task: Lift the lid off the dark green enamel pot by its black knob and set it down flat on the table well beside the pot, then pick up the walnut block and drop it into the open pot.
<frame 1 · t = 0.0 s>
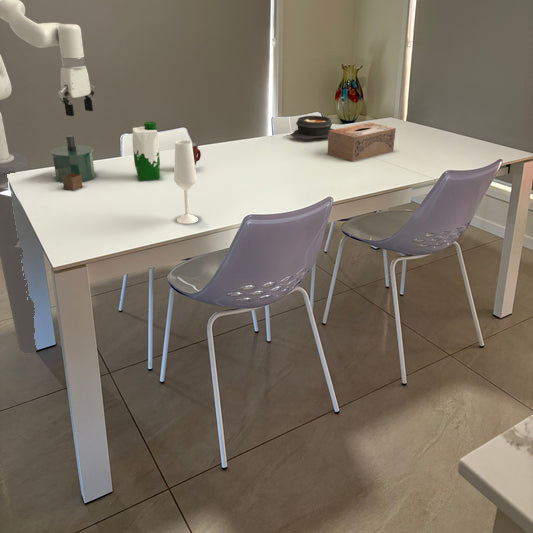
hand: (79, 113, 210), 23 cm above the table, tool pointing down, fingers open, 9 cm apart
milk carton: (148, 178, 218), on the table
mug: (190, 169, 228), on the table
pot: (75, 176, 218), on the table
block: (73, 187, 206), on the table
champagne flute: (187, 220, 181), on the table
tissue box cover: (360, 153, 252), on the table
lid: (72, 151, 213), point 9 cm above the table, touching pot
casserole: (313, 137, 277), on the table
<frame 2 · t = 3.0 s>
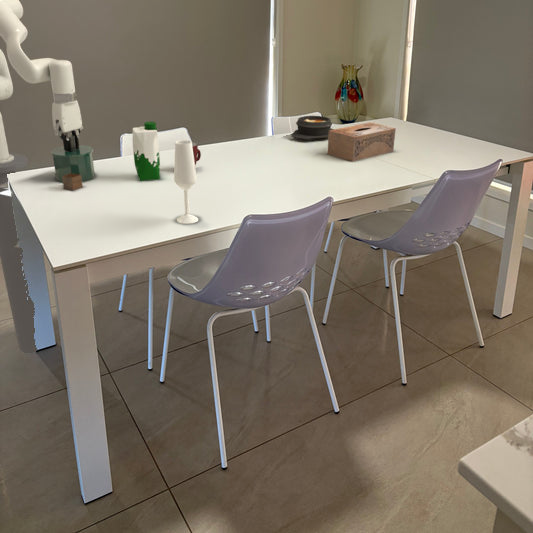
hand: (71, 149, 213), 10 cm above the table, tool pointing down, fingers closed on lid, 3 cm apart
lid: (72, 151, 213), point 10 cm above the table, touching gripper, pot
everything else where it was.
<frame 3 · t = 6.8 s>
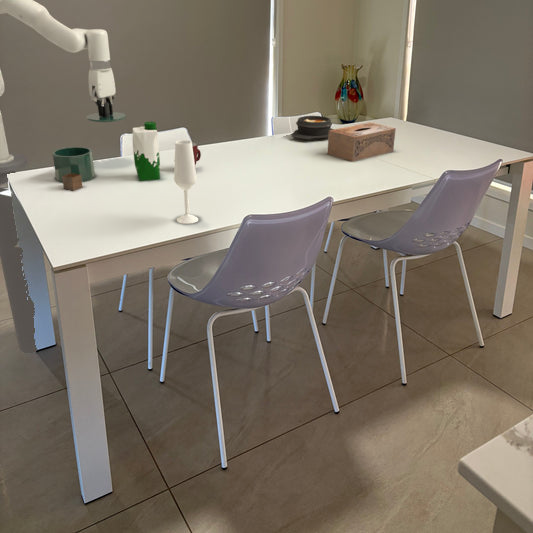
hand: (106, 115, 225), 19 cm above the table, tool pointing down, fingers closed on lid, 3 cm apart
lid: (106, 117, 226), point 18 cm above the table, touching gripper
everything else where it was.
when the fingers open (1 cm above the table, at t = 10.8 s): lid stays where it is, point 1 cm above the table.
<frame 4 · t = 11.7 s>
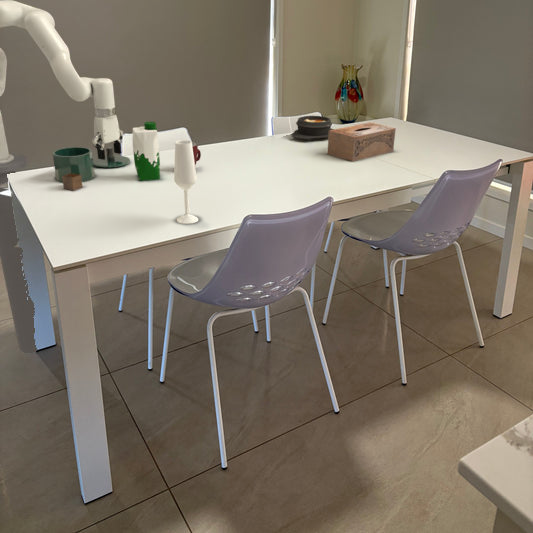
hand: (110, 156, 232), 3 cm above the table, tool pointing down, fingers open, 9 cm apart
lid: (111, 162, 234), point 1 cm above the table
everything else where it was.
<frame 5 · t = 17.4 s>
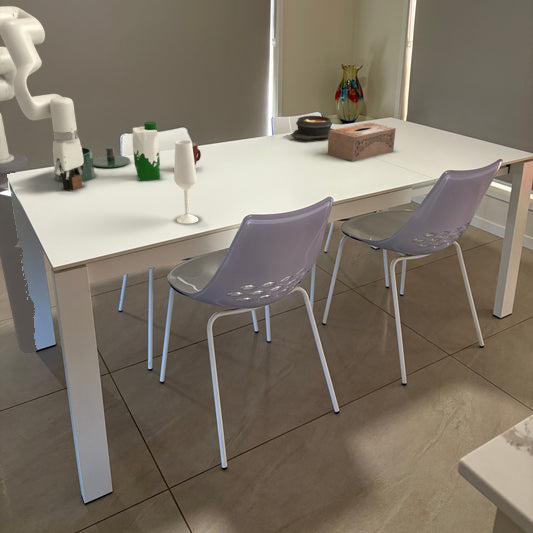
hand: (73, 186, 206), 0 cm above the table, tool pointing down, fingers closed on block, 4 cm apart
block: (73, 187, 206), on the table, touching gripper
everything else where it was.
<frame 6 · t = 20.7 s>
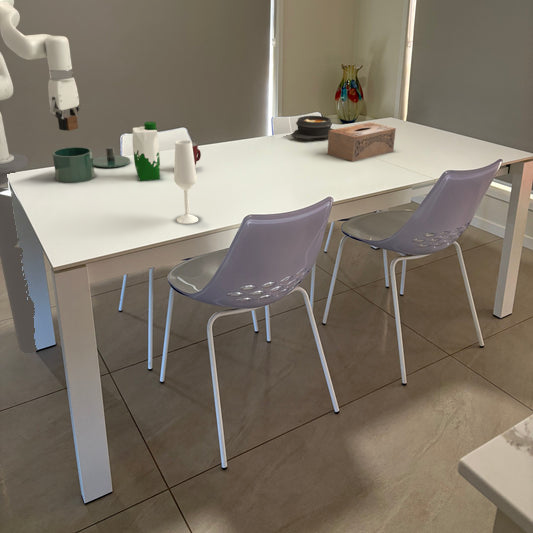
hand: (68, 127, 209), 18 cm above the table, tool pointing down, fingers closed on block, 4 cm apart
block: (68, 128, 209), point 18 cm above the table, touching gripper
everything else where it was.
when the fingers open (7 cm above the table, at t = 23.9 s): block drops 6 cm, resting on pot.
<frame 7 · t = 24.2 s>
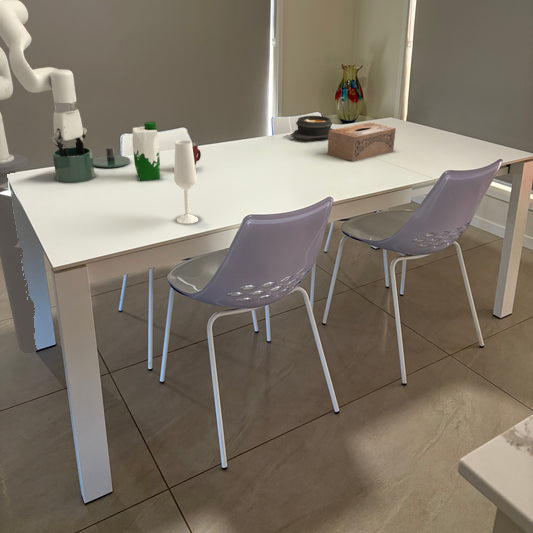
hand: (72, 155, 214), 8 cm above the table, tool pointing down, fingers open, 7 cm apart
block: (75, 175, 217), point 1 cm above the table, touching pot
everything else where it was.
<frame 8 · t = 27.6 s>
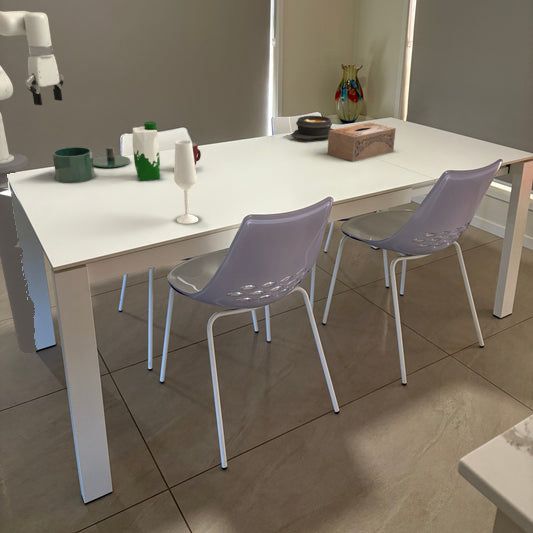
hand: (48, 102, 209), 26 cm above the table, tool pointing down, fingers open, 9 cm apart
nothing on the table moved.
at the end: lid inside the target area (0.1 cm from its centre), point 0.6 cm above the table; lid tilted 0°; block inside the target area in the pot (0.0 cm from its centre), point 0.5 cm above the pot's base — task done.
